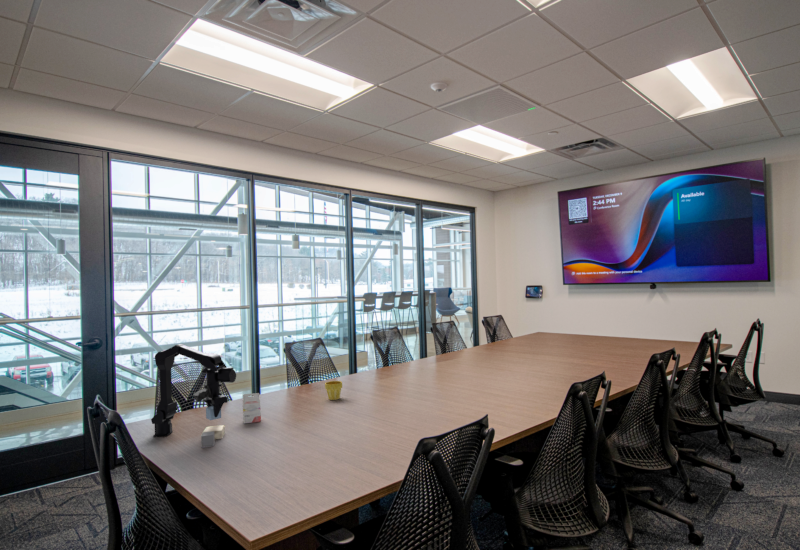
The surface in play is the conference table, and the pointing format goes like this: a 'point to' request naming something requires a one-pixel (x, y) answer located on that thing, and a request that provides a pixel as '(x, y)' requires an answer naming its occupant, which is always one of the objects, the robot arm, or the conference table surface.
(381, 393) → the conference table surface
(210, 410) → the blue cube
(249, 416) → the ink cartridge box
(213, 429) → the maple block
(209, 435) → the grey cube
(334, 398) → the plant pot
